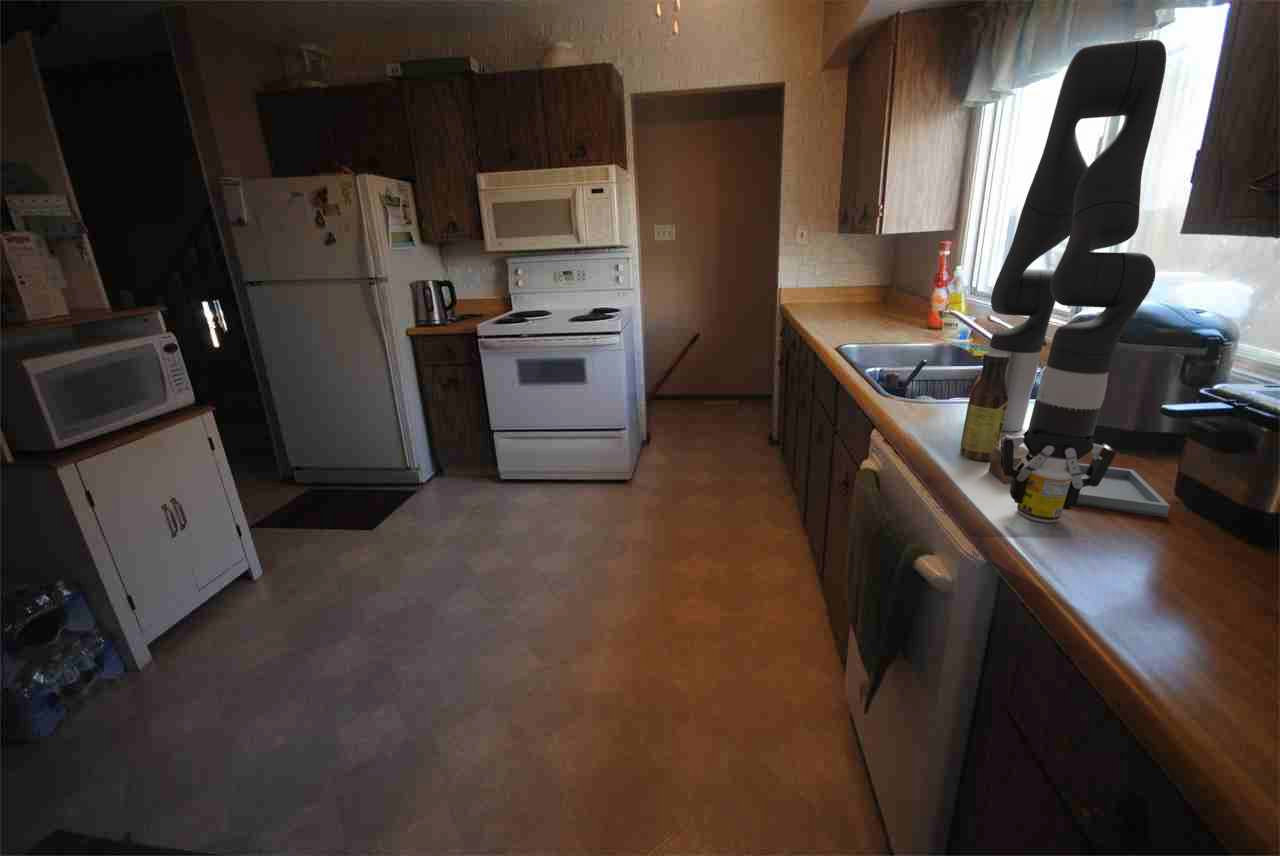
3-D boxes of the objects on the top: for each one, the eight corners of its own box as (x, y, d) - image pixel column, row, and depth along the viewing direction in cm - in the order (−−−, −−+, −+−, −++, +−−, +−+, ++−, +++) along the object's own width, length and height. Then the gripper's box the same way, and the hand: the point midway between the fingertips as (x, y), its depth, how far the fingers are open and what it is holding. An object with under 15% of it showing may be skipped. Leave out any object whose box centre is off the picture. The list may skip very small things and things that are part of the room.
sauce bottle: (1001, 463, 104) (1025, 359, 97) (964, 461, 105) (986, 358, 98) (987, 450, 110) (1010, 351, 103) (953, 448, 111) (973, 350, 104)
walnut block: (988, 472, 101) (993, 446, 99) (1016, 472, 101) (1022, 446, 99) (1004, 484, 96) (1010, 458, 95) (1033, 484, 96) (1040, 458, 94)
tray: (1035, 468, 102) (1037, 458, 101) (1129, 480, 97) (1133, 469, 96) (1056, 502, 90) (1060, 491, 89) (1166, 517, 85) (1170, 506, 84)
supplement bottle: (1012, 504, 89) (1027, 445, 86) (1053, 510, 87) (1070, 450, 84) (1020, 520, 85) (1036, 458, 81) (1063, 527, 83) (1082, 464, 79)
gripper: (1120, 396, 80) (1088, 501, 86) (1004, 387, 85) (982, 486, 91) (1142, 412, 74) (1106, 524, 80) (1015, 401, 79) (990, 507, 85)
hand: (1040, 503), depth 85 cm, fingers closed on supplement bottle, 5 cm apart
